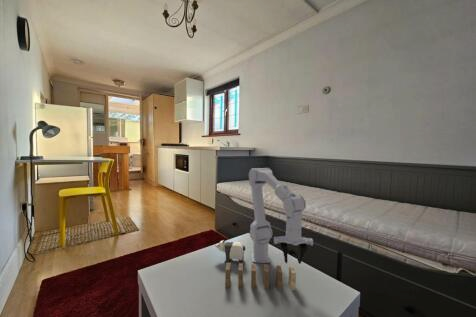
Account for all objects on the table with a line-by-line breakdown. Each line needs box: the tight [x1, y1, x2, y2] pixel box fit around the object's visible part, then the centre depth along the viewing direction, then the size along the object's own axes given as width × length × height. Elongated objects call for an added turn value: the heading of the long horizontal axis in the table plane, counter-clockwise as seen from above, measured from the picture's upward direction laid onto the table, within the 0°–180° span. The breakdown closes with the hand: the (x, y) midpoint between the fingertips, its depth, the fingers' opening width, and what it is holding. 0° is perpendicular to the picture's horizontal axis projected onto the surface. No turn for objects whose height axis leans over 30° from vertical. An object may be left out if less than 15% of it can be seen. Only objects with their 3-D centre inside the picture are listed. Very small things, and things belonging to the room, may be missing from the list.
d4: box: [263, 264, 270, 290], centre depth 78 cm, size 4×2×7 cm, turn 177°
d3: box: [250, 263, 257, 290], centre depth 78 cm, size 4×2×7 cm, turn 177°
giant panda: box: [215, 239, 246, 265], centre depth 94 cm, size 15×6×10 cm, turn 78°
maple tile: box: [288, 265, 297, 292], centre depth 77 cm, size 4×2×7 cm, turn 178°
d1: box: [224, 262, 232, 288], centre depth 78 cm, size 4×2×7 cm, turn 177°
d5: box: [275, 264, 283, 291], centre depth 77 cm, size 4×2×7 cm, turn 177°
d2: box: [237, 263, 244, 289], centre depth 78 cm, size 4×2×7 cm, turn 177°
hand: (292, 261), depth 77 cm, fingers open, 4 cm apart
